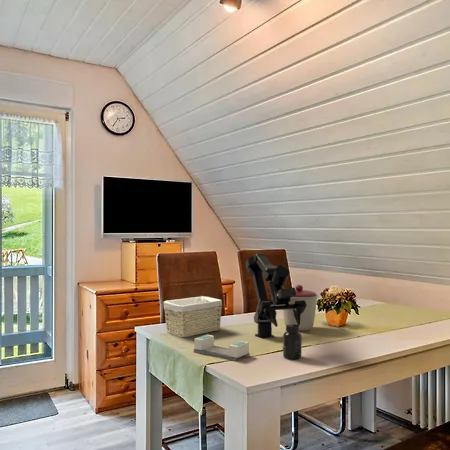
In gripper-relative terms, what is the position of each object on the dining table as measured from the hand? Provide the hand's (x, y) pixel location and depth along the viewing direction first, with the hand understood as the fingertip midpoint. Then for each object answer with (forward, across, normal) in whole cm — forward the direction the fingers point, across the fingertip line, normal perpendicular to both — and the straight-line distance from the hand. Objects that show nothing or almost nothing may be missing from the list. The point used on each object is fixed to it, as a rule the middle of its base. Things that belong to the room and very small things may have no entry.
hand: (288, 325), depth 165 cm
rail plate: (+3, -25, +12) cm, 28 cm away
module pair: (+2, -25, +12) cm, 28 cm away
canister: (-19, +21, +35) cm, 45 cm away
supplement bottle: (+11, 0, +5) cm, 12 cm away
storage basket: (-24, -30, +39) cm, 54 cm away
